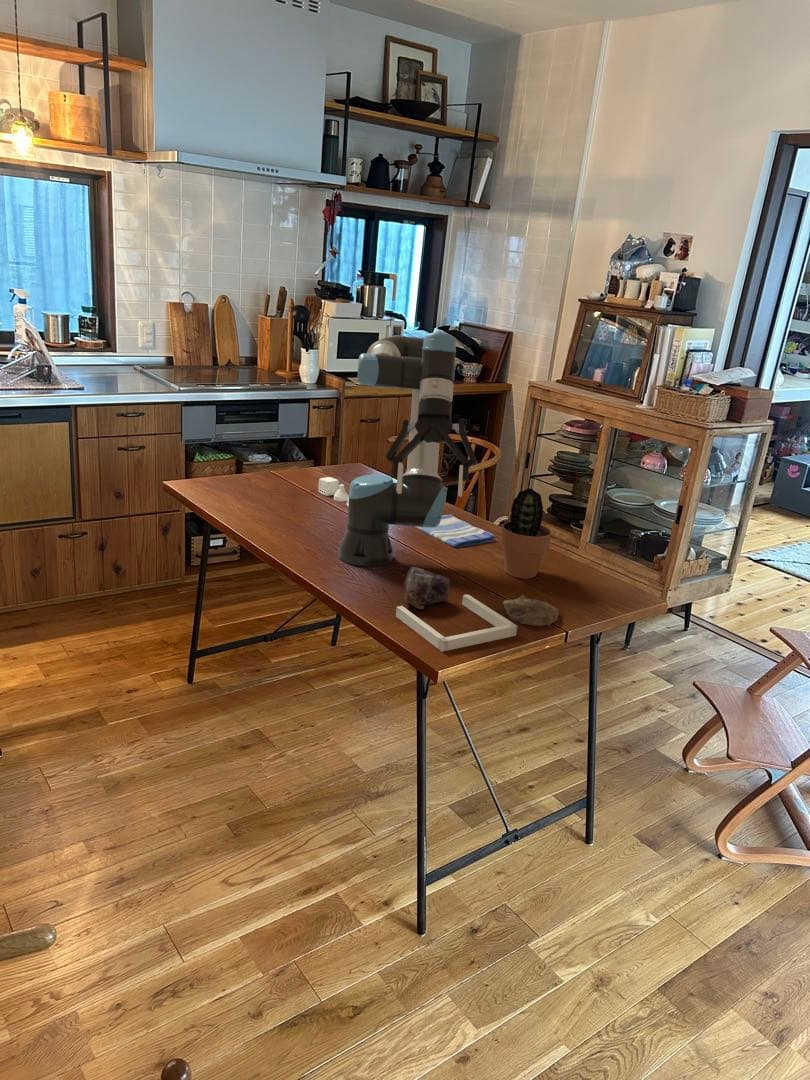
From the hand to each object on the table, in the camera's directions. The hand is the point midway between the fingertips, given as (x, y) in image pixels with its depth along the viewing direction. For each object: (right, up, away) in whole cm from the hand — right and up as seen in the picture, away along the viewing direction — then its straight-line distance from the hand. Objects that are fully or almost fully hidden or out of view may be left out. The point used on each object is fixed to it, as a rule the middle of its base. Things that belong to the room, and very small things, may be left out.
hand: (429, 494), depth 180 cm
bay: (+6, -30, +12) cm, 33 cm away
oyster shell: (+26, -29, +22) cm, 45 cm away
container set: (-27, +3, +101) cm, 104 cm away
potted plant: (+27, -20, +49) cm, 59 cm away
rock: (-1, -26, +23) cm, 35 cm away
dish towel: (+9, -9, +77) cm, 78 cm away
